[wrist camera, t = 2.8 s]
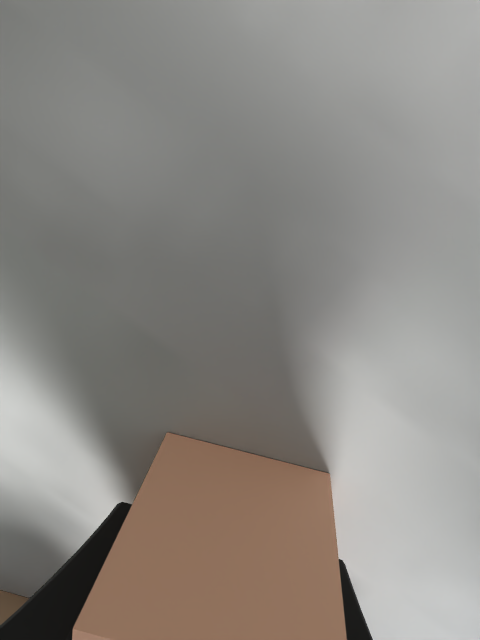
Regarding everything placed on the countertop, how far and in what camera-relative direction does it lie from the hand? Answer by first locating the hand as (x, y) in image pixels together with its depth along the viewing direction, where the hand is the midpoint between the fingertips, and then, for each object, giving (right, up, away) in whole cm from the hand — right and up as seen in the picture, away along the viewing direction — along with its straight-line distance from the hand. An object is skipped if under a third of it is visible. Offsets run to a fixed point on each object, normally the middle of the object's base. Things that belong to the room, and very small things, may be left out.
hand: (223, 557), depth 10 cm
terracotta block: (0, +1, +1) cm, 1 cm away
